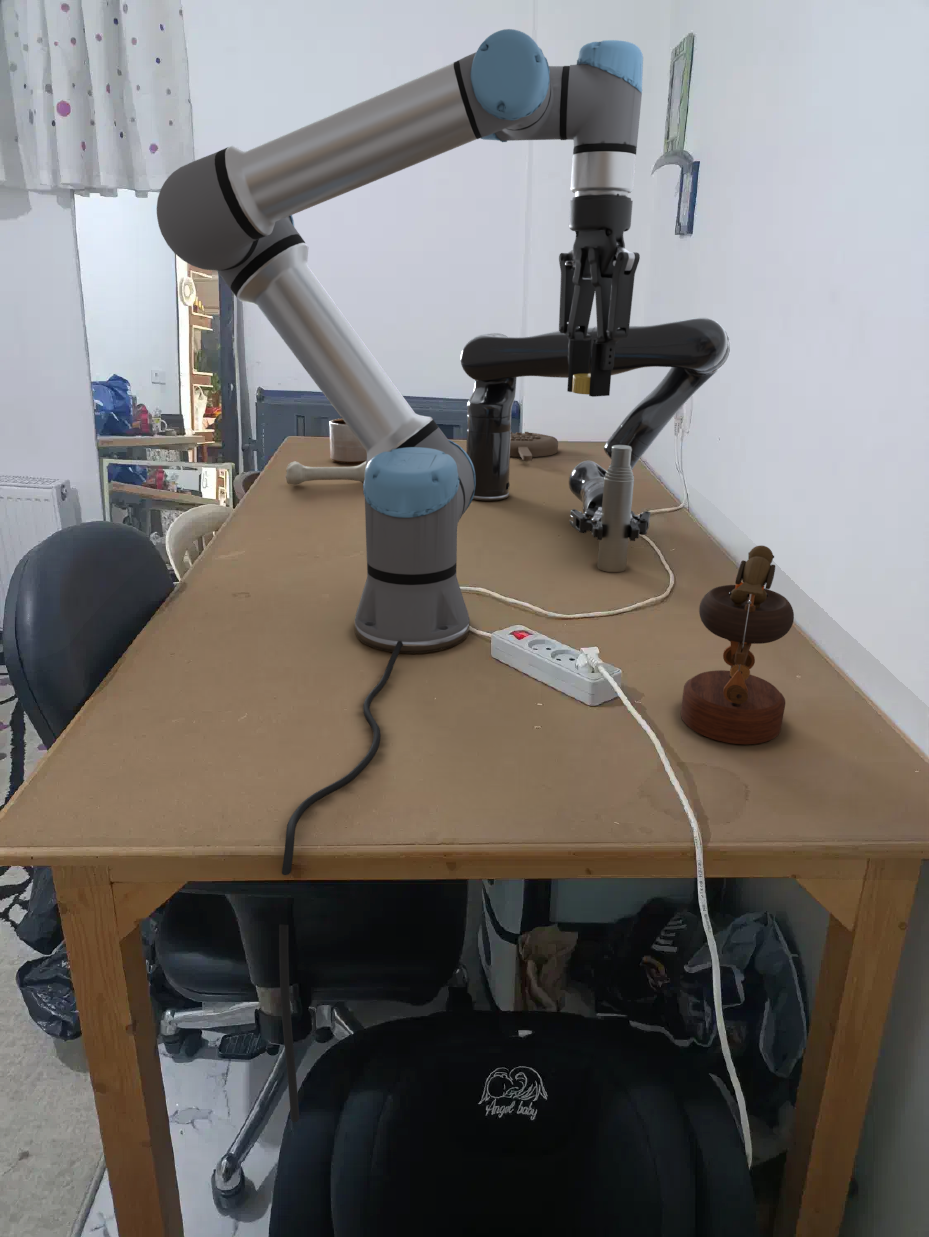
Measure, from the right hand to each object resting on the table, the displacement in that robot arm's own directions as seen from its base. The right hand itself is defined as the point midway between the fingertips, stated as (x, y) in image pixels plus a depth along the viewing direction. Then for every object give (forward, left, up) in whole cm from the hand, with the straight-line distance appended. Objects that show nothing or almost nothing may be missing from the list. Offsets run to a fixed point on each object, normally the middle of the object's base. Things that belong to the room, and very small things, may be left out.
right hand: (617, 534), depth 134 cm
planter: (-98, -16, -6) cm, 100 cm away
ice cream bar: (-90, +28, -6) cm, 94 cm away
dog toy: (-74, -27, -6) cm, 79 cm away
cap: (+10, -13, +26) cm, 31 cm away
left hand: (+10, -13, +24) cm, 29 cm away
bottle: (-2, +1, -6) cm, 7 cm away
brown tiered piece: (+46, -14, -6) cm, 48 cm away
